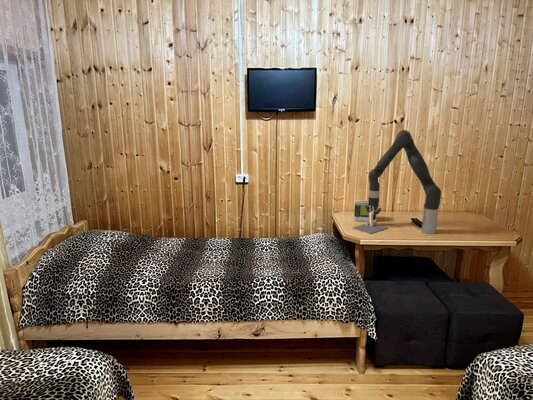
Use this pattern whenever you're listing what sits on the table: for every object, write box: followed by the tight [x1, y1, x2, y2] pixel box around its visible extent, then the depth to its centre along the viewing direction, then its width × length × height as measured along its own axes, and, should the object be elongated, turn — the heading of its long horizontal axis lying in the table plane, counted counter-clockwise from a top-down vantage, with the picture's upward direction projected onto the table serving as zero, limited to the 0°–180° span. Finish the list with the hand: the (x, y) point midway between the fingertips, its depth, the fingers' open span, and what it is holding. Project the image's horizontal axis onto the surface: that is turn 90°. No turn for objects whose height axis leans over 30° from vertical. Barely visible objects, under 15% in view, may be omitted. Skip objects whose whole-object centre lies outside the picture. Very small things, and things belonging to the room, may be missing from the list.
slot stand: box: [365, 221, 379, 227], centre depth 279 cm, size 7×6×2 cm
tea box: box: [353, 199, 369, 222], centre depth 292 cm, size 15×10×15 cm, turn 76°
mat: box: [352, 223, 389, 235], centre depth 273 cm, size 20×16×1 cm
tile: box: [369, 211, 377, 224], centre depth 278 cm, size 6×2×9 cm, turn 126°
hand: (372, 219), depth 279 cm, fingers closed on tile, 1 cm apart
